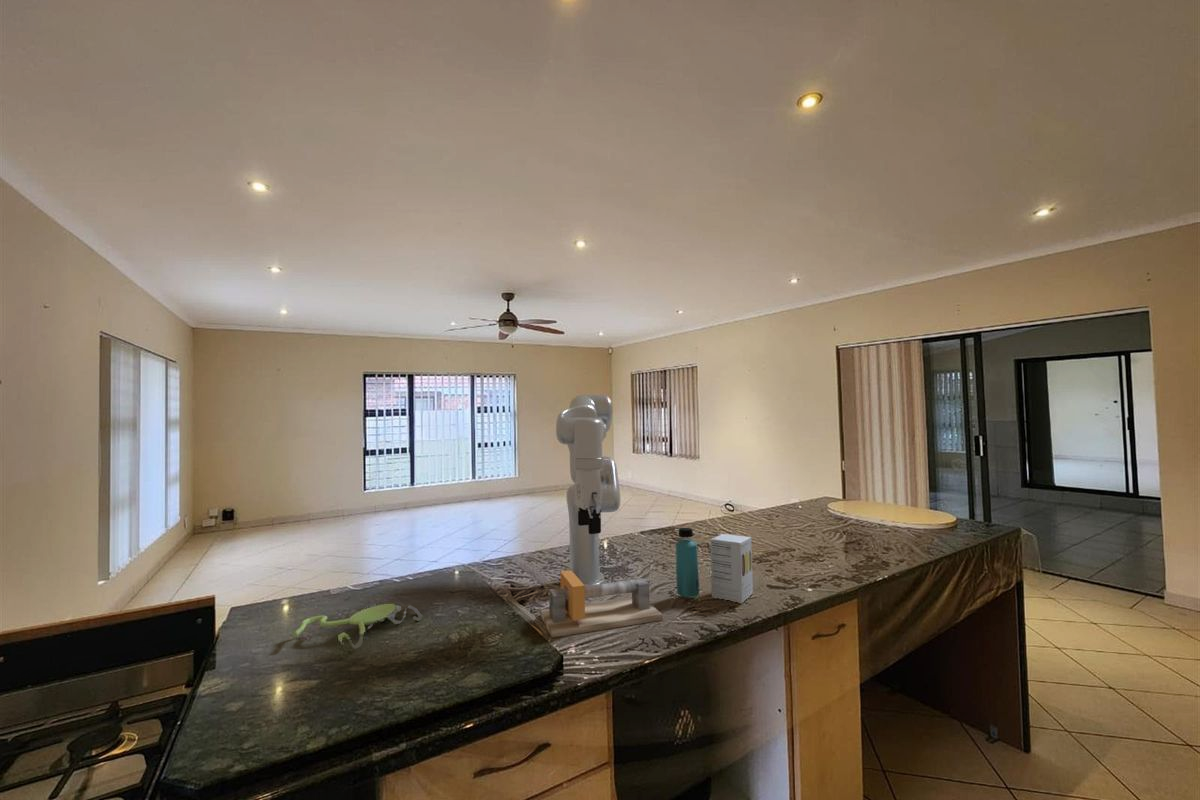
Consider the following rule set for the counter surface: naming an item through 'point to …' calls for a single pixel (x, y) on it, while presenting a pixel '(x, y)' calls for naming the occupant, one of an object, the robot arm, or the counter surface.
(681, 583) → the beverage bottle
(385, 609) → the figurine
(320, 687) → the counter surface
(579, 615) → the brown slab
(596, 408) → the robot arm
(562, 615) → the pipe rig
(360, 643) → the counter surface
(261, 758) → the counter surface
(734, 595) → the supplement box
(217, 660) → the counter surface
